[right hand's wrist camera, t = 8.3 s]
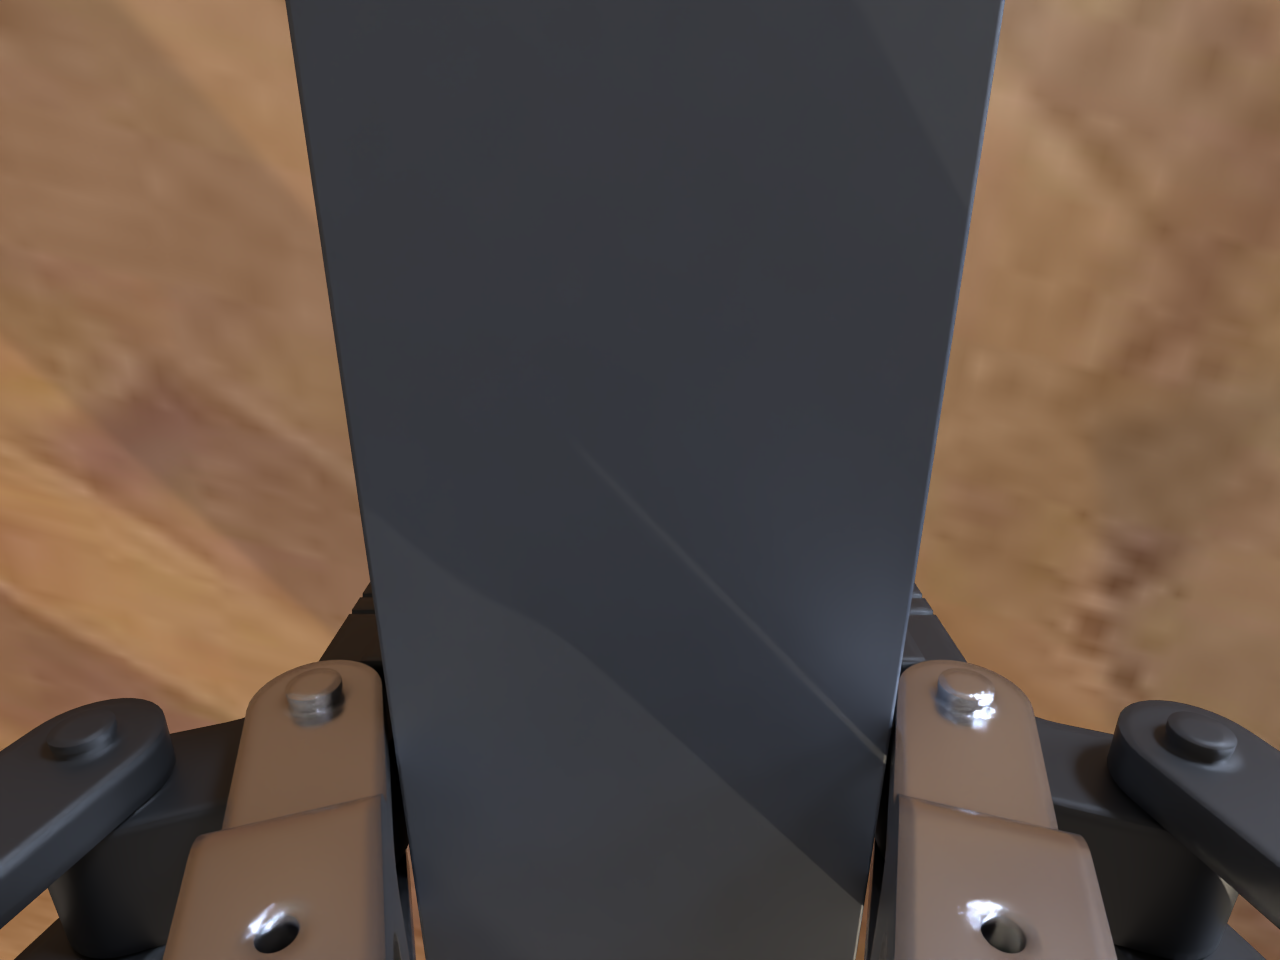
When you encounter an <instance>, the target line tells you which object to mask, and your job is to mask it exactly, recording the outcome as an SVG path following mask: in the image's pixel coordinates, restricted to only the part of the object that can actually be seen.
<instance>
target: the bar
mask: <svg viewBox="0 0 1280 960" xmlns="http://www.w3.org/2000/svg"><path fill="white" fill-rule="evenodd" d="M285 1H286V8H287V15H288V22H289V29H290V36H291V42H292V49H293V56H294V63H295V70H296V77H297V83H298V90H299V97H300V104H301V111H302V118H303V124H304V131H305V138H306V145H307V152H308V159H309V165H310V172H311V179H312V186H313V193H314V200H315V206H316V213H317V220H318V227H319V234H320V241H321V247H322V254H323V261H324V268H325V275H326V282H327V288H328V295H329V302H330V309H331V316H332V322H333V329H334V336H335V343H336V350H337V357H338V363H339V370H340V377H341V384H342V391H343V398H344V404H345V411H346V418H347V425H348V432H349V439H350V445H351V452H352V459H353V466H354V473H355V480H356V486H357V493H358V500H359V507H360V514H361V521H362V527H363V534H364V541H365V548H366V555H367V562H368V568H369V575H370V582H371V589H372V596H373V602H374V609H375V616H376V623H377V630H378V637H379V643H380V650H381V657H382V664H383V671H384V678H385V684H386V691H387V698H388V705H389V712H390V719H391V725H392V732H393V739H394V746H395V753H396V760H397V766H398V773H399V780H400V787H401V794H402V801H403V807H404V814H405V821H406V828H407V835H408V842H409V848H410V855H411V862H412V869H413V876H414V882H415V889H416V896H417V903H418V910H419V917H420V923H421V930H422V937H423V944H424V951H425V958H426V960H855V959H856V953H857V947H858V940H859V934H860V927H861V921H862V915H863V908H864V902H865V895H866V889H867V882H868V876H869V870H870V863H871V857H872V850H873V844H874V838H875V831H876V825H877V818H878V812H879V805H880V799H881V793H882V786H883V780H884V773H885V767H886V760H887V754H888V748H889V741H890V735H891V728H892V722H893V716H894V709H895V703H896V696H897V690H898V683H899V677H900V671H901V664H902V658H903V651H904V645H905V638H906V632H907V626H908V619H909V613H910V606H911V600H912V594H913V587H914V581H915V574H916V568H917V561H918V555H919V549H920V542H921V536H922V529H923V523H924V516H925V510H926V504H927V497H928V491H929V484H930V478H931V472H932V465H933V459H934V452H935V446H936V439H937V433H938V427H939V420H940V414H941V407H942V401H943V395H944V388H945V382H946V375H947V369H948V362H949V356H950V350H951V343H952V337H953V330H954V324H955V317H956V311H957V305H958V298H959V292H960V285H961V279H962V273H963V266H964V260H965V253H966V247H967V240H968V234H969V228H970V221H971V215H972V208H973V202H974V195H975V189H976V183H977V176H978V170H979V163H980V157H981V151H982V144H983V138H984V131H985V125H986V118H987V112H988V106H989V99H990V93H991V86H992V80H993V73H994V67H995V61H996V54H997V48H998V41H999V35H1000V29H1001V22H1002V16H1003V9H1004V3H1005V0H285Z"/></svg>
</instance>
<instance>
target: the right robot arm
mask: <svg viewBox="0 0 1280 960" xmlns="http://www.w3.org/2000/svg"><path fill="white" fill-rule="evenodd" d="M408 844H409V842H408V835H407V828H406V821H405V814H404V807H403V801H402V794H401V787H400V780H399V773H398V766H397V760H396V753H395V746H394V739H393V732H392V725H391V719H390V712H389V705H388V698H387V691H386V684H385V678H384V671H383V664H382V657H381V650H380V643H379V637H378V630H377V623H376V616H375V609H374V602H373V596H372V589H371V582H370V583H369V585H368V586H367V588H366V589H365V591H364V592H363V597H360V599H359V600H358V602H357V603H356V605H355V606H354V608H353V609H352V614H349V615H348V617H347V619H346V620H345V622H344V623H343V625H342V626H341V628H340V629H339V631H338V632H337V634H336V636H335V637H334V639H333V640H332V642H331V643H330V645H329V646H328V648H327V649H326V651H325V652H324V654H323V656H322V657H321V659H320V660H319V662H314V663H310V664H306V665H303V666H300V667H297V668H294V669H292V670H289V671H287V672H285V673H283V674H281V675H279V676H277V677H275V678H274V679H272V680H271V681H269V682H268V683H267V684H265V685H264V686H263V687H262V688H261V689H259V691H258V692H257V693H256V694H255V695H254V696H253V698H252V699H251V701H250V702H249V705H248V708H247V711H246V716H245V718H242V719H238V720H234V721H230V722H226V723H221V724H216V725H211V726H206V727H201V728H197V729H192V730H187V731H182V732H177V733H172V734H169V730H168V726H167V723H166V719H165V716H164V713H163V711H162V709H161V708H160V707H159V706H158V705H156V704H154V703H153V702H150V701H147V700H143V699H136V698H120V699H110V700H105V701H99V702H95V703H91V704H88V705H84V706H81V707H78V708H75V709H72V710H70V711H67V712H65V713H63V714H60V715H58V716H56V717H54V718H52V719H50V720H48V721H46V722H44V723H43V724H41V725H40V726H38V727H36V728H35V729H33V730H32V731H30V732H29V733H27V734H26V735H24V736H23V737H21V738H20V739H18V740H17V741H15V742H14V743H12V744H11V745H9V746H8V747H6V748H5V749H3V750H2V751H0V929H1V928H2V927H3V926H5V925H6V924H7V923H8V922H9V921H10V920H11V919H13V918H14V917H15V916H16V915H17V914H18V913H19V912H21V911H22V910H23V909H24V908H25V907H26V906H27V905H29V904H30V903H31V902H32V901H33V900H34V899H35V898H37V897H38V896H39V895H40V894H41V893H42V892H43V891H44V890H46V889H47V888H48V890H49V892H50V895H51V897H52V900H53V903H54V905H55V908H56V910H57V913H58V915H59V918H58V919H57V920H56V921H55V922H54V923H53V924H52V925H51V926H50V927H49V928H47V929H46V930H45V931H44V932H43V933H42V934H41V935H40V936H39V937H38V938H37V939H36V940H35V941H33V942H32V943H31V944H30V945H29V946H28V947H27V948H26V949H25V950H24V951H23V952H22V953H20V954H19V955H18V956H17V957H16V958H15V959H14V960H416V955H415V940H414V926H413V912H412V898H411V883H410V869H409V861H408V855H407V846H408ZM1238 894H1240V895H1241V896H1242V897H1244V898H1245V899H1246V900H1247V901H1248V902H1249V903H1250V904H1251V905H1253V906H1254V907H1255V908H1256V909H1257V910H1258V911H1259V912H1261V913H1262V914H1263V915H1264V916H1265V917H1266V918H1267V919H1269V920H1270V921H1271V922H1272V923H1273V924H1274V925H1275V926H1277V927H1278V928H1279V929H1280V751H1278V750H1277V749H1275V748H1274V747H1272V746H1271V745H1269V744H1268V743H1266V742H1265V741H1263V740H1262V739H1260V738H1259V737H1257V736H1256V735H1254V734H1253V733H1251V732H1250V731H1248V730H1247V729H1245V728H1243V727H1242V726H1240V725H1239V724H1237V723H1235V722H1233V721H1231V720H1229V719H1227V718H1225V717H1222V716H1220V715H1218V714H1215V713H1213V712H1210V711H1207V710H1204V709H1202V708H1199V707H1195V706H1191V705H1187V704H1183V703H1178V702H1172V701H1162V700H1148V701H1141V702H1137V703H1133V704H1131V705H1129V706H1127V707H1125V708H1124V709H1123V711H1122V712H1121V713H1120V715H1119V718H1118V722H1117V725H1116V729H1115V732H1114V735H1113V734H1108V733H1104V732H1099V731H1094V730H1089V729H1084V728H1079V727H1074V726H1069V725H1065V724H1060V723H1056V722H1052V721H1047V720H1044V719H1041V718H1038V717H1035V716H1034V711H1033V708H1032V705H1031V702H1030V701H1029V699H1028V698H1027V696H1026V695H1025V694H1024V693H1023V692H1022V691H1021V689H1020V688H1018V687H1017V686H1016V685H1015V684H1013V683H1012V682H1011V681H1009V680H1008V679H1006V678H1005V677H1003V676H1001V675H999V674H997V673H995V672H993V671H991V670H988V669H986V668H983V667H980V666H977V665H974V664H970V663H967V662H966V660H965V659H964V657H963V656H962V654H961V653H960V651H959V650H958V648H957V646H956V645H955V643H954V642H953V640H952V639H951V637H950V636H949V634H948V633H947V631H946V630H945V628H944V627H943V625H942V624H941V622H940V621H939V619H938V618H937V616H936V615H933V610H932V609H931V607H930V606H929V604H928V602H927V601H926V599H925V598H922V593H921V592H920V590H919V589H918V587H917V586H916V584H915V583H914V587H913V594H912V600H911V606H910V613H909V619H908V626H907V632H906V638H905V645H904V651H903V658H902V664H901V671H900V677H899V683H898V690H897V696H896V703H895V709H894V716H893V722H892V728H891V735H890V741H889V748H888V754H887V760H886V767H885V773H884V780H883V786H882V793H881V799H880V805H879V812H878V818H877V825H876V831H875V841H874V848H873V855H872V861H871V869H870V884H869V898H868V912H867V927H866V941H865V955H864V960H1266V959H1265V958H1264V957H1263V956H1262V955H1261V954H1260V953H1258V952H1257V951H1256V950H1255V949H1254V948H1253V947H1252V946H1251V945H1250V944H1249V943H1248V942H1247V941H1245V940H1244V939H1243V938H1242V937H1241V936H1240V935H1239V934H1238V933H1237V932H1236V931H1235V930H1234V929H1233V928H1231V927H1230V926H1229V925H1228V924H1227V922H1228V919H1229V917H1230V914H1231V912H1232V909H1233V907H1234V904H1235V902H1236V899H1237V897H1238Z"/></svg>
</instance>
